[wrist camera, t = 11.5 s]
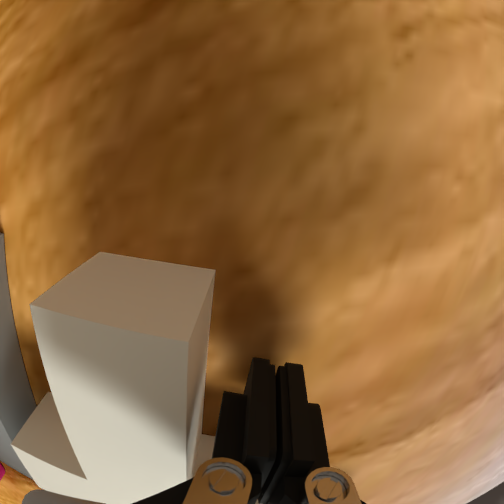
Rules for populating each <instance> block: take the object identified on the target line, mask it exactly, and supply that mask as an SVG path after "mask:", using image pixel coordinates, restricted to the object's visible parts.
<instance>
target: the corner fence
mask: <svg viewBox="0 0 504 504" xmlns="http://www.w3.org/2000/svg"><path fill="white" fill-rule="evenodd" d="M36 407H37V406H36V403H35V400H34V397H33V394H32V391H31V388H30V384H29V381H28V378H27V374H26V371H25V367H24V363H23V359H22V355H21V351H20V347H19V343H18V338H17V334H16V329H15V324H14V319H13V313H12V307H11V301H10V295H9V287H8V280H7V271H6V261H5V248H4V234H3V233H0V461H2V462H4V463H5V464H7V465H8V466H10V467H12V468H13V469H15V470H17V471H18V472H20V473H22V474H24V475H26V476H27V477H29V478H31V479H33V478H32V477H31V475H30V474H29V472H28V471H27V469H26V468H25V466H24V465H23V463H22V462H21V460H20V459H19V457H18V456H17V454H16V452H15V451H14V449H13V447H12V446H11V443H12V441H13V440H14V438H15V437H16V435H17V434H18V432H19V431H20V430H21V428H22V427H23V425H24V424H25V422H26V421H27V420H28V418H29V417H30V415H31V414H32V413H33V411H34V410H35V409H36Z"/></svg>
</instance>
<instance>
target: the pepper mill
mask: <svg viewBox="0 0 504 504" xmlns="http://www.w3.org/2000/svg"><path fill="white" fill-rule="evenodd" d="M4 474H5V469H4V467H3V466H2V464H1V463H0V480H1V479H2V477H3V475H4Z"/></svg>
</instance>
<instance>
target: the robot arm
mask: <svg viewBox="0 0 504 504" xmlns="http://www.w3.org/2000/svg"><path fill="white" fill-rule="evenodd" d="M257 499H258V503H259V504H366V503H365V502H363V501H362V500H360V498H359V495H358V493H357V490H356V487H355V485H354V483H353V481H352V479H351V477H350V476H348V475H347V474H346V473H345V472H343V471H341V470H340V469H337V468H333V467H330V465H329V459H328V452H327V446H326V439H325V433H324V427H323V421H322V415H321V409H320V406H319V404H313V403H308V400H307V392H306V385H305V378H304V371H303V365H301V364H294V363H287V362H286V363H285V365H284V366H279V367H278V369H277V373H276V376H275V365H271V364H270V361H269V360H267V359H261V358H255V357H253V359H252V362H251V366H250V370H249V374H248V378H247V382H246V386H245V390H244V394H238V393H232V392H227V391H224V393H223V398H222V403H221V408H220V413H219V419H218V424H217V430H216V436H215V442H214V448H213V453H212V459H210V460H207V461H205V462H204V463H203V464H201V465H200V467H199V468H198V470H197V471H196V474H195V476H194V477H193V478H191V479H189V480H187V481H185V482H182V483H180V484H178V485H176V486H174V487H171V488H169V489H167V490H164V491H162V492H160V493H157V494H155V495H152V496H150V497H147V498H145V499H142V500H140V501H137V502H134V503H132V504H255V503H256V501H257ZM22 504H106V503H100V502H94V501H89V500H84V499H79V498H74V497H70V496H65V495H61V494H57V493H53V492H50V491H46V490H38V489H37V490H33V491H30V492H29V493H28V494H26V495H25V497H24V499H23V501H22Z"/></svg>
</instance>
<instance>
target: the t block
mask: <svg viewBox="0 0 504 504" xmlns="http://www.w3.org/2000/svg"><path fill="white" fill-rule="evenodd" d="M215 271H216V270H214V269H207V268H200V267H194V266H187V265H180V264H174V263H167V262H161V261H155V260H148V259H142V258H136V257H130V256H124V255H118V254H111V253H105V252H98V253H97V254H96V255H94V256H93V257H91V258H90V259H89V260H87V261H86V262H84V263H83V264H82V265H80V266H79V267H78V268H76V269H75V270H73V271H72V272H71V273H69V274H68V275H67V276H65V277H64V278H63V279H61V280H60V281H59V282H57V283H56V284H55V285H53V286H52V287H51V288H50V289H48V290H47V291H46V292H44V293H43V294H42V295H41V296H39V297H38V298H37V299H35V300H34V301H33V302H32V303H30V309H31V314H32V319H33V324H34V329H35V334H36V338H37V342H38V346H39V350H40V354H41V358H42V362H43V366H44V369H45V373H46V376H47V379H48V383H49V386H50V389H51V392H52V393H50V392H47V394H46V395H45V396H44V398H43V399H42V400H41V402H40V403H39V404H38V406H37V407H36V409H35V410H34V411H33V413H32V414H31V415H30V417H29V418H28V420H27V421H26V422H25V424H24V425H23V427H22V428H21V430H20V431H19V432H18V434H17V435H16V437H15V438H14V440H13V441H12V443H11V446H12V447H13V449H14V451H15V452H16V454H17V456H18V457H19V459H20V460H21V462H22V463H23V465H24V466H25V468H26V469H27V471H28V472H29V474H30V475H31V477H32V478H33V480H34V481H35V482H36V484H37V485H38V487H40V488H42V489H44V490H46V491H50V492H53V493H57V494H61V495H65V496H70V497H74V498H79V499H84V500H89V501H94V502H100V503H106V504H132V503H134V502H137V501H140V500H142V499H145V498H147V497H150V496H152V495H155V494H157V493H160V492H162V491H164V490H167V489H169V488H171V487H174V486H176V485H178V484H180V483H182V482H185V481H187V480H189V479H191V478H193V477H194V476H195V474H196V471H197V470H198V468H199V467H200V465H201V464H203V463H204V462H205V461H207V460H210V459H212V453H213V448H214V442H215V436H210V435H204V434H202V421H203V407H204V393H205V379H206V367H207V355H208V343H209V332H210V321H211V310H212V300H213V290H214V280H215ZM255 504H259V503H258V499H257V501H256V503H255Z"/></svg>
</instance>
